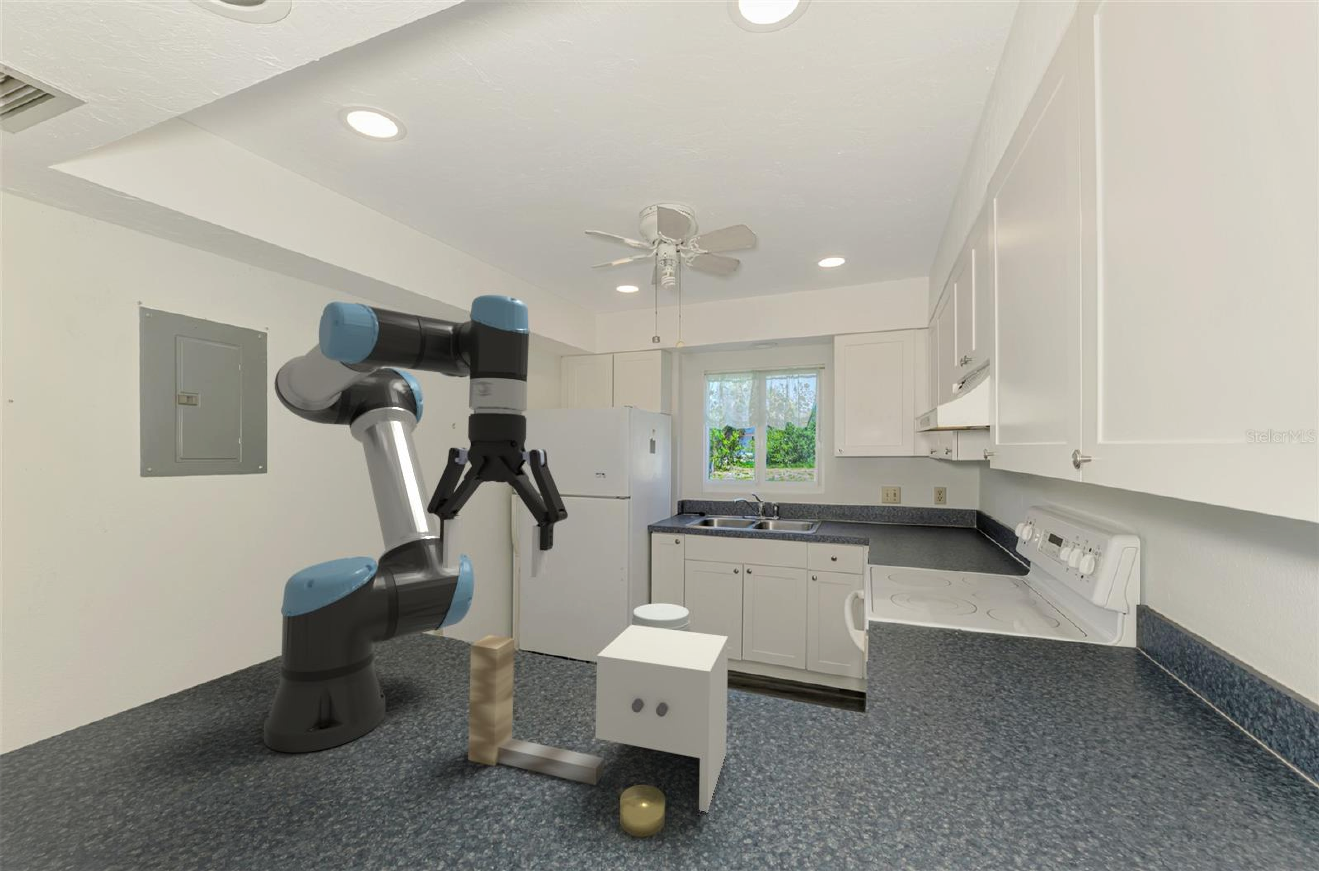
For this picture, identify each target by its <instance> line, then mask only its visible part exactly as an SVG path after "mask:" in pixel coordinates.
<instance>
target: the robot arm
mask: <svg viewBox="0 0 1319 871" xmlns="http://www.w3.org/2000/svg"><path fill="white" fill-rule="evenodd" d="M527 306H528V305H526V303H525V302H523V301H522V300H521V299H518V298H516V297H511V296H505V295H500V294H486V295H479V296H477V297H475V298H474V299H473V300H472V303H471V309H470V313H469V318H470V320H468V321H465V322H456V321H452V320H445V319H439V318H435V317H429V316H428V317H427V316H423V315H417V314H412V313H406V312H403V311H402V312H401V311H397V310H390V309H387V308H386V309H385V308H380V307H374V306H370V305H366V304H364V303H360V302H357V303H356V302H355V303H352V302H351V303H350V302H341V301H333V302H330V303H328V304H326V306H325V307H324V308H323V311H322V315H321V317H320V322H319V327H318V328H319V329H318V343H317V344H316V345H315V346H314V347H312V349H310V350H309V351H308V352H307V353H305V355H300V356H295V357H293V358H291V359H289V360H288V361H286V362H285V363H284V364H283V365H282V366H281V367H280V368H279V370H278V371H277V373H276V375H275V379H274V391H275V394H276V396H277V398H278V400H279V402H280V403H281V404H282V405H283V406H284V407H285V408H286V409H287V410H288V411H289V412H290V413H292V414H294V415H297V416H298V417H300V418H302V419H305V420H307V421H310V422H313V423H317V424H323V425H339V426H341V425H343V426H349V429H350V434H351V436H352V437H353V438H354V439H355V441H357V442H359V443H362V447H363V451H364V456H365V462H366V466H367V470H368V474H369V480H370V483H371V489H372V494H373V497H374V503H375V507H376V512H377V516H378V522H379V526H380V529H381V530H380V531H381V535H382V539H383V544H384V549H385V550H384V551H383V552H382V554H381V555H380V557H379V558H378V559H377V561H376V560H375V558H373V557H369V556H355V557H350V558H349V557H344V558H343V557H342V558H337V559H332V560H329V561H324V562H321V563H317V564H314V565H311V566H308V567H305V568H303V569H301V570H299V571H297V572H296V573H294V574H292V576H291V577H289V578H288V580H287V581H286V582H285V585H284V591H283V599H282V606H281V608H280V609H281V610H280V613H281V614H282V625H281V626H282V631H281V633H282V635H281V636H282V637H281V661H280V662H281V663H280V664H281V666H280V667H281V668H280V681H279V684H278V686H277V689H276V693H275V696H274V699H273V700H272V704H271V707H270V711H269V712H268V714H267V715H266V718H265V719H264V724H263V743H264V744H265V745H266V746H267V747H268V748H269V749H272V750H274V751H278V752H284V753H308V752H315V751H321V750H325V749H326V750H327V749H330V748H334V747H338V746H340V745H344V744H347V743H349V742H351V741H354V740H356V739H359V738H361V737H363V736H364V735H367V734H368V733H369V732H371V731H372V730H374V729H375V728H376V727H378V726H379V725H380V724H381V723H382V721H383V719H385V715H386V696H385V693H384V692H383V690H382V686H381V682H380V678H379V676H378V673H377V669H376V667H375V662H374V661H375V660H374V659H375V657H374V656H375V645H376V644H379V643H383V642H387V641H392V640H396V639H401V638H404V637H410V636H413V635H414V636H415V635H418V634H422V633H428V632H431V631H435V632H436V631H440V630H441V629H442V628H447V627H450V626H454V625H456V624H458V623H460V622H461V621H463V619H464V618H465V617H466V616H467V614H468V612H469V611H470V608H471V605H472V601H473V597H474V589H475V574H474V568H473V565H472V561H471V560H470V558H469V557H468V556H467V555H465V554H463V553H462V552H461V550H462V517H459V516H460V514H459V512H460V511H461V510H462V509H463V507H464V506H465V504H466V503H467V502H468V501H469V500H470V498H471V497H472V496H473V494H474V493H475V492H476V491H477V489H478V488H479V486H480V485H481V484H483V483H484V482H485V483H487V482H495V483H507V484H508V485H509V486H511V487H513V489H514V491H515V492H516V493H517V495H518V496H519V498H520V499H521V500H522V502H523V504H524V505H525V506H526V508H527V509H528V511H529V512H530V514H531V515H532V517H533V518H534V519H535V521H536V522H537V524H536V525H532V533H531V535H532V536H531V538H532V541H531V578H538V577H541V576H543V575H546V574H547V573H548V551H549V550H550V551H551V550H552V549H553V546H554V526H555V524H556V523H558V522H561V521H564V520H566V519H567V518H568V515H569V514H568V512H567V509H566V507H565V506H566V505H565V504H564V502H563V499H562V497H561V494H560V492H559V490H558V487H557V485H556V483H555V480H554V478H553V475H552V472H551V471H550V468H549V466H548V456H547V455H548V454H547V451H546V450H545V449H531V450H530V451H526V448H525V444H526V440H527V417H526V415H523V412H526V411H527V410H528V373H529V372H528V368H529V365H528V364H529V342H530V340H529V338H530V331H531V330H530V328H529V308H528V307H527ZM396 368H398V369H396ZM400 369H407V370H416V371H424V372H433V373H440V374H441V375H443V376H446V377H449V378H450V377H451V378H452V377H455V378H456V377H459V378H467V377H469V392H468V393H469V395H468V396H469V399H468V402H469V403H468V408H469V409H470V410H472V411H473V413H470V415H469V416H468V424H467V425H468V427H467V428H468V431H467V439H468V440H469V441H470V447H469V449H467V448H466V447H450V448H449V449H448V456H447V463H446V466H445V468H444V470H443V472H442V474H441V477H440V479H439V481H438V483H437V486H436V488H435V490H434V492H433V494H432V497H431V499H429V498H430V497H429V495H428V494H429V493H428V490H427V486H426V484H425V480H424V479H425V478H424V475H423V471H422V468H421V464H420V461H419V457H418V453H417V449H416V446H415V442H414V438H413V434H412V433H414V431H415V430H416V429H417V428H416V427H417V425H418V424H419V422H420V421H421V419H422V416H423V412H424V404H423V402H422V401H423V399H424V398H423V393H422V392H423V391H422V389H421V386H420V384H419V382H418V380H417V378H416V377H415V376H414V375H413V374H411V373H410V372H408V371H405V370H400ZM468 462H469V463H470V465H471V466H470V468H469V469H468V471H467V472H466V473H465V474H464V475H463V472H464V471H465V468H466V464H467V463H468ZM525 464H526V465H528V467H529V468H530V470H531V474H532V476H533V478H534V482H535V483H536V485H537V489H538V490H539V492H538V491H537V489H536V488H535V486H534V485H533V484H532V482H531V481H530V476H529V475H528V473H527V472H526V471H525V469H524V468H523V466H525ZM462 475H463V480H462V481H461V483H459V482H460V480H461V478H462ZM458 484H459V485H458ZM434 515H435V516H436V517H437V518H438V519H439V532H438V529H437V524H436V521H435V517H434Z"/></svg>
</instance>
